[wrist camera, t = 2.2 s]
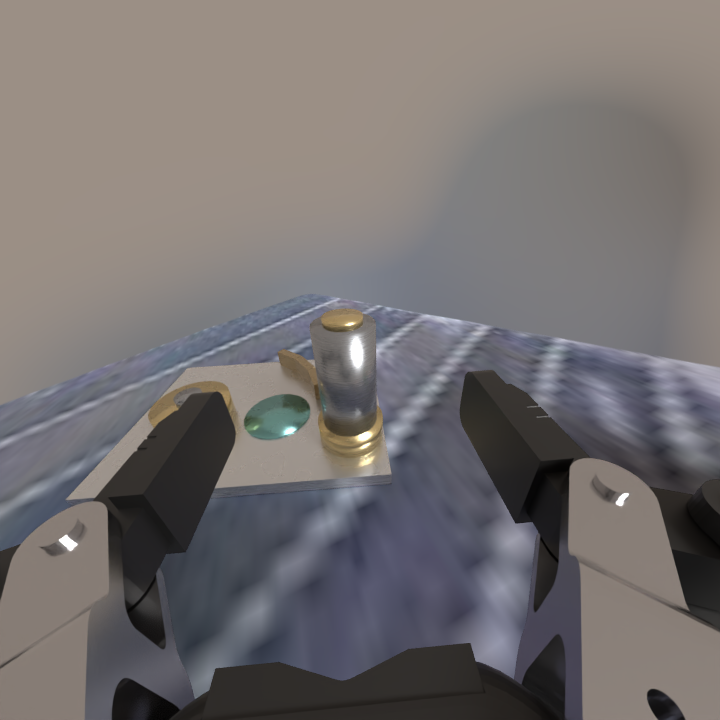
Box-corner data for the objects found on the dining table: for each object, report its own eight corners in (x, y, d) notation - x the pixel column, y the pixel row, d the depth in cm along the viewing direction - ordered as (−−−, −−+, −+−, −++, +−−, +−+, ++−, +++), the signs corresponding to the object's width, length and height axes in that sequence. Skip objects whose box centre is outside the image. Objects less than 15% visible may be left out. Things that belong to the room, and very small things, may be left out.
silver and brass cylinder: (318, 460, 23) (295, 335, 17) (322, 414, 28) (306, 305, 22) (386, 455, 23) (388, 329, 17) (378, 410, 28) (377, 300, 22)
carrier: (74, 509, 21) (37, 471, 19) (190, 375, 38) (178, 346, 35) (391, 483, 22) (392, 444, 20) (370, 363, 38) (369, 334, 36)
